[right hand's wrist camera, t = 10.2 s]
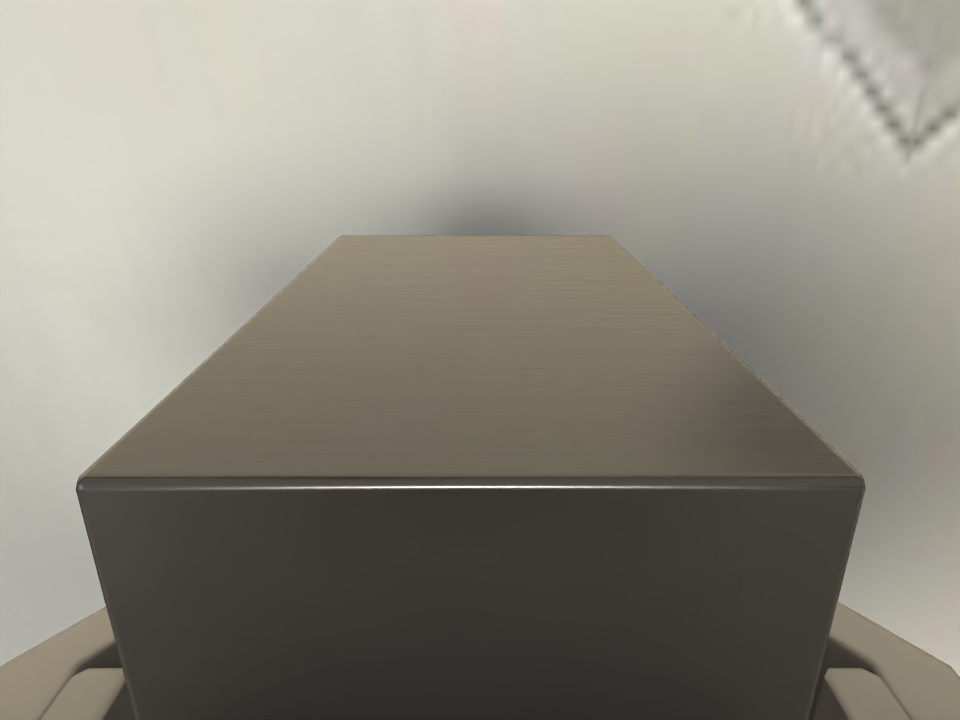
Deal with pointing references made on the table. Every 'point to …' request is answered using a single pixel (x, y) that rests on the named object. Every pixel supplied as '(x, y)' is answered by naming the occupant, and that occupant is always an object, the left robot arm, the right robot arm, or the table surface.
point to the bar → (471, 503)
